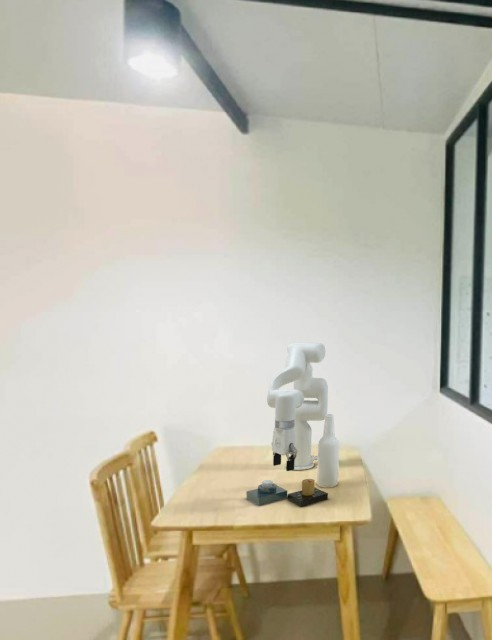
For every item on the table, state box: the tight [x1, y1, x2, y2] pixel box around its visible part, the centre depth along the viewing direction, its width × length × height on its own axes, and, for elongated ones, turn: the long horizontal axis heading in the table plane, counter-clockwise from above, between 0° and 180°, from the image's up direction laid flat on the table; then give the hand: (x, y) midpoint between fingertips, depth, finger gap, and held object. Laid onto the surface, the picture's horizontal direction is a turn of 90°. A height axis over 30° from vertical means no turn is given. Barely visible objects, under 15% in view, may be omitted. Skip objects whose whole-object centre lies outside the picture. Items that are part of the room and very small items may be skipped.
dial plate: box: [287, 486, 329, 508], centre depth 198 cm, size 12×10×3 cm
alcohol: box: [316, 413, 340, 489], centre depth 217 cm, size 9×9×30 cm
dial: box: [301, 478, 316, 496], centre depth 198 cm, size 5×5×5 cm
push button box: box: [246, 482, 288, 507], centre depth 199 cm, size 12×10×5 cm
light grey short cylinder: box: [261, 479, 274, 488], centre depth 199 cm, size 4×4×2 cm
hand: (283, 467), depth 198 cm, fingers open, 9 cm apart
